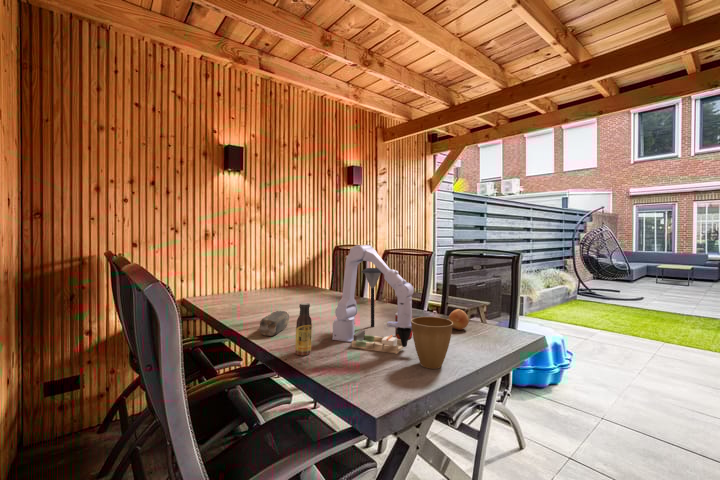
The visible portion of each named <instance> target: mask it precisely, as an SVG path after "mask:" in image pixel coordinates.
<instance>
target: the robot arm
mask: <svg viewBox="0 0 720 480" xmlns="http://www.w3.org/2000/svg"><path fill="white" fill-rule="evenodd" d="M363 261H364V262H365V261H366V262H369V263H370V262H371V263H372V264H373V265H374V266H375V268H378V269H379V270H380V271H381V272H382V273H381V274H383V276H384V277H383V278H384V280H385V281H386V282H387V284H388V285H390V287H391V288H392V289H393V290H394V294H395V296H396V299H397V312H398V322H395V321H391V320H390V321H387V322H386V327H387V328H398V329H397V333H398V334H399V337H400V340H401V343H402V347H403V348H406V347H407V345H408V342H409V339H408V338H409V335H410V333H411V331H412V326H411V319H413V312H412V311H413V309H412V308H413V307H412V305H413V300H412V298H413V294H414V293H415V292H414V291H415V289H414V286H413V284H412V283H410V282H407V280H406V279H404V278H403V277H402V276H401V275H400V274H399V271H398V270H395V269H391V268H390V267H389V266H388V265H387V264H386V262H385V261H384V259H382V257H381V256H380V255H379V254H378V252H377V250H376V249H374V247H373V246H372V245H370V244H363V245H362V244H356V245H354V246H352V247H351V248H350V249H349V253H348V255H347V257H346V259H345V266H344V276H343V285H342V293H341V294H342V296H341V298H340V300H339V301H338V303H337V307H336V308H335V311H334V313H335V314H334V315H335V317H336V318H334V320H333V323H332V338H331V340H332V341H333V340H334V341H341V342H348V343H352V340H353V335H355V318H356V315H357V314H358V306H357V303H358V302H357V300H356V299H355V294H356V285H357V275H358V274H357V273H358V266H359V264H360V263H362V262H363Z"/></svg>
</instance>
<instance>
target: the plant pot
mask: <svg viewBox="0 0 720 480" xmlns="http://www.w3.org/2000/svg"><path fill="white" fill-rule="evenodd" d="M411 326H412V338H413V343H414V347H415V351H416V355H417V357H418V359H419V360H418V361H419V363H420V366H421V367H424V368H427V369H433V370H436V369H440V368H441V367H442V366H443V364H444V361H445V359H446V356H447V352H448V350H449V345H450V343H451V342H450V341H451V337H452V333H453V322H452V321H450V320H448V318H444V317H439V316H438V317H437V316H418V317H417V316H416V317H412V319H411Z"/></svg>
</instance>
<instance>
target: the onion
mask: <svg viewBox="0 0 720 480" xmlns="http://www.w3.org/2000/svg"><path fill="white" fill-rule="evenodd" d="M447 319H448V320H450V321H452V322H453V327H452V329H455V330H456V331H457V330H458V331H461V330H464V329H465V328H467V327H468V325H469V322H470V319H469V316H468V314H467V313H466V311H464V310H463V309H460V308H456V309H454V310H453V311H451V312H450V314H449V315H448V318H447Z"/></svg>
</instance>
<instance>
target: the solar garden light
mask: <svg viewBox="0 0 720 480" xmlns="http://www.w3.org/2000/svg"><path fill="white" fill-rule="evenodd" d="M360 273H362V274H364V275H365V278H366V280H367V282H368V285H369V287H370V327H371V328H374V327H375V288H376V285H377V283H378V281H379V278H380V276H381V274H383V273H382V272H381V271H380V270H379V269H378V268H377V267H366V268H364V269H362V270H361V271H360Z"/></svg>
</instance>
